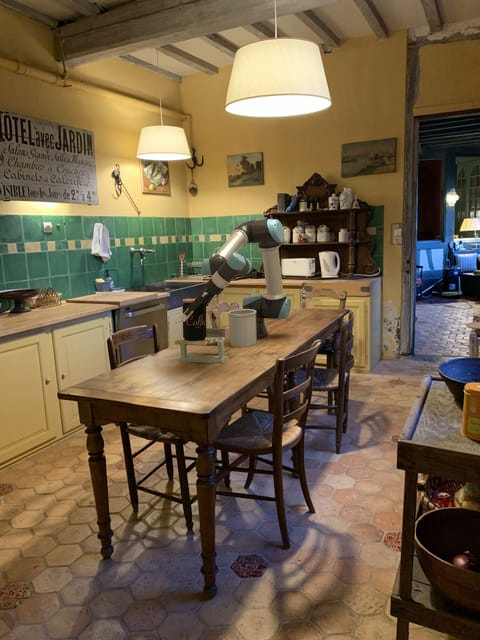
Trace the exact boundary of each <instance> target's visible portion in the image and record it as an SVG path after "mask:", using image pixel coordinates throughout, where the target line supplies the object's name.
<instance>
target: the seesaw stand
mask: <svg viewBox="0 0 480 640" xmlns="http://www.w3.org/2000/svg"><path fill="white" fill-rule="evenodd" d="M182 339H183V338H181V339H180V340H182ZM224 341H225V340H219V341H217V346H216V347H217V355H213V354H212V355H211V354H210V355H209V354H188V345H185V344H179V350H180V357H178V358H177V362H188V363H189V362H191V363H206V364H207V363H210V364H211V363H214V364H222V363H223V362H225V361H226V360H228V355H225V343H224Z"/></svg>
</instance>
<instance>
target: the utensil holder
mask: <svg viewBox="0 0 480 640" xmlns="http://www.w3.org/2000/svg"><path fill="white" fill-rule="evenodd" d="M227 317H228V331H229V332H228V333H229V342H230V345H231V346H232V347H235V348H250V347H252V346H255V345H256V344H257V339H256V310H253V309H243V308H238V309H237V308H236V309H232V310H229V311H228V312H227Z"/></svg>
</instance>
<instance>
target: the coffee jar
mask: <svg viewBox="0 0 480 640" xmlns="http://www.w3.org/2000/svg"><path fill="white" fill-rule="evenodd" d="M196 298H197V297H196ZM196 298H194V297H193V298H184V299H182V303H183V304H182V314H183V313H184V312H185V311H186V310H187V309H188V307H187V306H188V305H190V304H191V303H192V302H193V301H194V300H195V299H196ZM205 302H206V301H205ZM205 302H203V303H202V304H200V305H199V306H198V307H197V308H196V309H195V310H194V312H193V313H192V314H191V315H190V316H189V317H188V319H187V320H186V321H185V322H184V321H183V320H182V337H183V338H182V339H184V340H187V341H201V340H205V338H206V328H207V306H206V304H205Z"/></svg>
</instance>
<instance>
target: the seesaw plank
mask: <svg viewBox="0 0 480 640" xmlns="http://www.w3.org/2000/svg"><path fill="white" fill-rule="evenodd" d="M181 339H182V340H181ZM181 339H176V340H174V344H175V345H180V344H185V345H187V346H202V347H203V346H206V347H211V346H212V347H218V346H217V341H219V340H224V341H225V340H226V328H220V327H219V328H212V327H211V328H210V327H206V338H205V340H201V341H187V340H184V338H181Z"/></svg>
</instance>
